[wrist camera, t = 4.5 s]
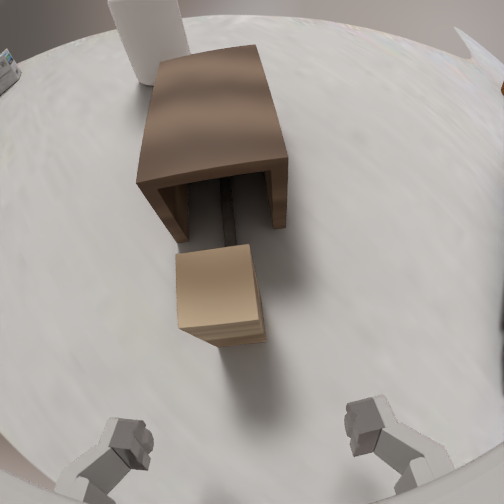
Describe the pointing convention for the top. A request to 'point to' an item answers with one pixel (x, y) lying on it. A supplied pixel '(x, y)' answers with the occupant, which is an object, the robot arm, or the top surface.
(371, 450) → the robot arm
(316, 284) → the top surface
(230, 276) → the tethered block
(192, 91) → the cubby
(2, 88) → the light bulb box
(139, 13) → the potion bottle
